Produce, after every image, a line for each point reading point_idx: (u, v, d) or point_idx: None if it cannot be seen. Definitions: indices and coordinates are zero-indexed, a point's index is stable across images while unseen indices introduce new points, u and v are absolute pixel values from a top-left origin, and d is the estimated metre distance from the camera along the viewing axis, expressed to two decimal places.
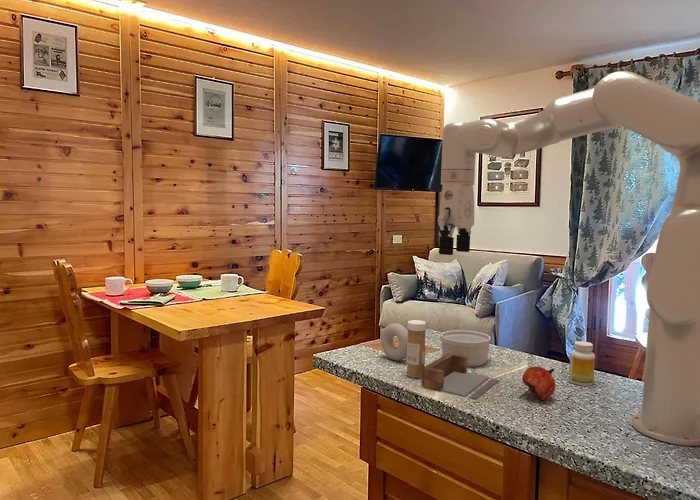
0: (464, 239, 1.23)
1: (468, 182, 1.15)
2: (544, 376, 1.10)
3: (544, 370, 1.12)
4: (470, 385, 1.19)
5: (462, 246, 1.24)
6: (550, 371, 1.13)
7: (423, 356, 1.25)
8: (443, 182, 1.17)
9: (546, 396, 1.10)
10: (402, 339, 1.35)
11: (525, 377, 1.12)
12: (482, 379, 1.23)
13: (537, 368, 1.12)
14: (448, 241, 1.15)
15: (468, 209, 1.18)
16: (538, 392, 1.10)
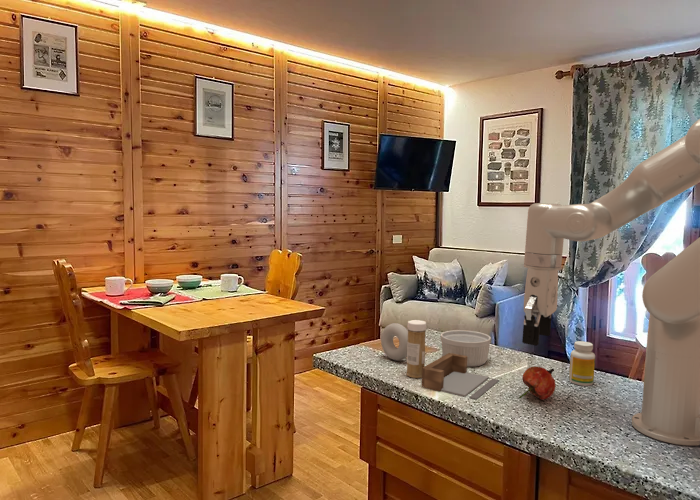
0: (545, 322, 1.16)
1: (556, 268, 1.08)
2: (544, 376, 1.10)
3: (544, 370, 1.12)
4: (470, 385, 1.19)
5: (542, 329, 1.16)
6: (550, 371, 1.13)
7: (423, 356, 1.25)
8: (528, 266, 1.10)
9: (546, 396, 1.10)
10: (402, 339, 1.35)
11: (525, 377, 1.12)
12: (482, 379, 1.23)
13: (537, 368, 1.12)
14: (534, 331, 1.07)
15: (554, 295, 1.10)
16: (538, 392, 1.10)
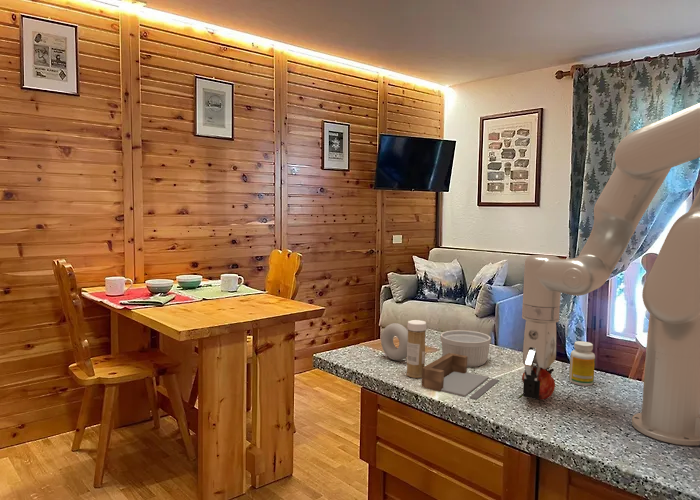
0: None
1: (554, 320, 1.09)
2: (544, 376, 1.10)
3: (544, 370, 1.12)
4: (470, 385, 1.19)
5: None
6: (550, 371, 1.13)
7: (423, 356, 1.25)
8: (526, 318, 1.10)
9: (546, 396, 1.10)
10: (402, 339, 1.35)
11: None
12: (482, 379, 1.23)
13: None
14: (534, 385, 1.09)
15: (552, 346, 1.11)
16: None
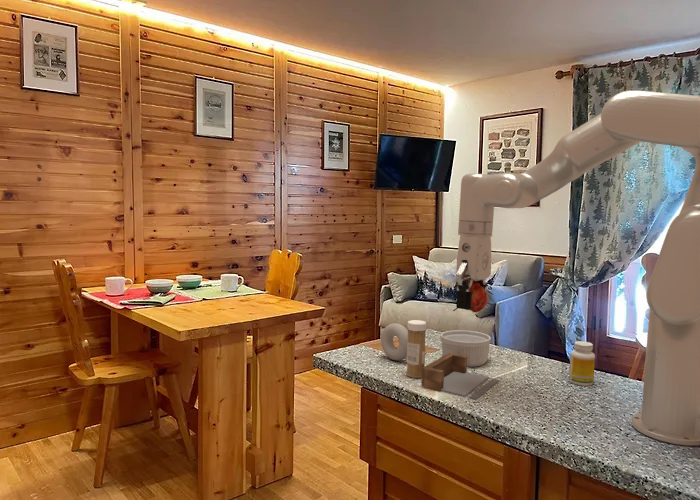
0: None
1: (486, 234, 1.14)
2: (476, 288, 1.16)
3: (477, 284, 1.17)
4: (470, 385, 1.19)
5: None
6: (484, 286, 1.19)
7: (423, 356, 1.25)
8: (461, 233, 1.16)
9: (478, 307, 1.16)
10: (402, 339, 1.35)
11: None
12: (482, 379, 1.23)
13: None
14: (466, 296, 1.14)
15: (485, 261, 1.16)
16: None
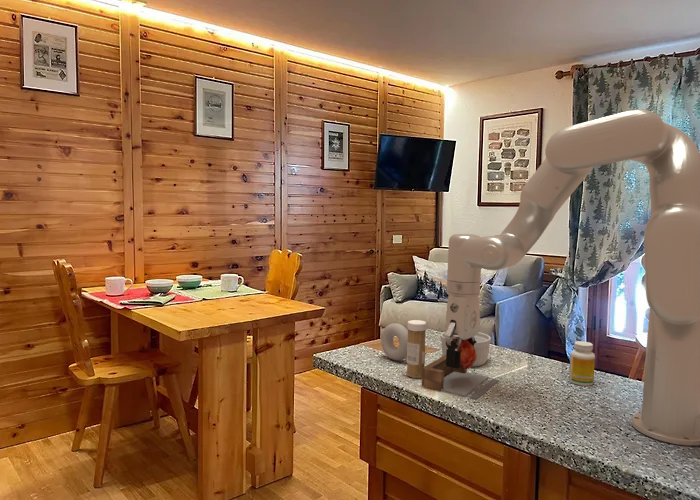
0: None
1: (474, 294, 1.16)
2: (465, 347, 1.18)
3: (466, 341, 1.19)
4: (470, 385, 1.19)
5: None
6: (472, 343, 1.21)
7: (423, 356, 1.25)
8: (449, 293, 1.18)
9: (467, 365, 1.18)
10: (402, 339, 1.35)
11: None
12: (482, 379, 1.23)
13: None
14: (455, 355, 1.16)
15: (474, 319, 1.18)
16: None
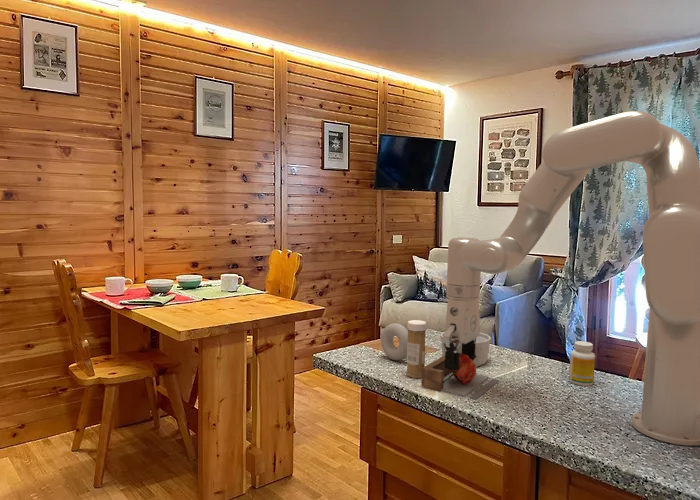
0: (469, 347, 1.24)
1: (473, 298, 1.16)
2: (464, 362, 1.18)
3: (465, 356, 1.19)
4: (470, 385, 1.19)
5: (467, 354, 1.24)
6: (472, 357, 1.21)
7: (423, 356, 1.25)
8: (449, 296, 1.18)
9: (466, 380, 1.18)
10: (402, 339, 1.35)
11: None
12: (482, 379, 1.23)
13: (459, 354, 1.20)
14: (454, 357, 1.16)
15: (473, 322, 1.19)
16: (458, 377, 1.18)
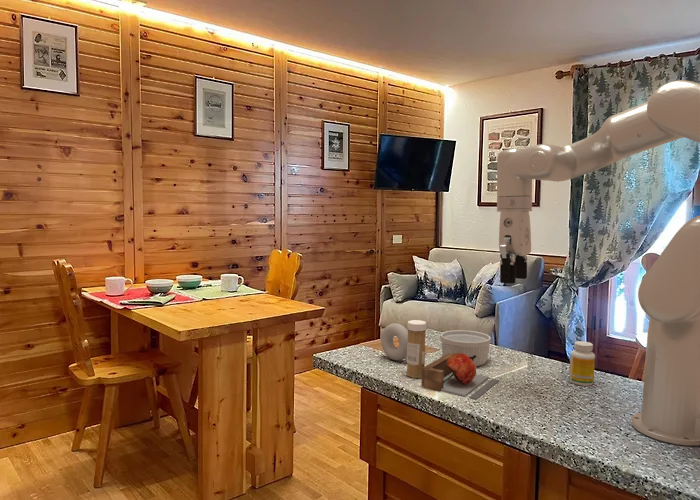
0: (521, 266, 1.21)
1: (527, 209, 1.14)
2: (464, 362, 1.18)
3: (465, 356, 1.19)
4: (470, 385, 1.19)
5: (519, 273, 1.21)
6: (472, 357, 1.21)
7: (423, 356, 1.25)
8: (501, 209, 1.15)
9: (466, 380, 1.18)
10: (402, 339, 1.35)
11: (447, 363, 1.19)
12: (482, 379, 1.23)
13: (459, 354, 1.20)
14: (510, 269, 1.12)
15: (527, 236, 1.16)
16: (458, 377, 1.18)
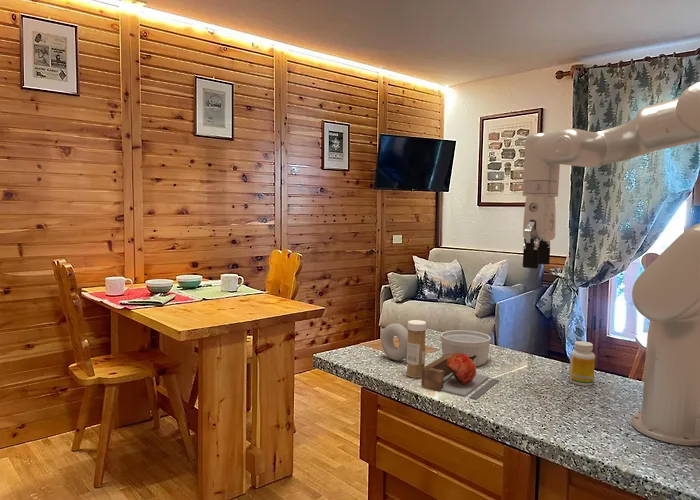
0: (544, 251, 1.21)
1: (553, 194, 1.13)
2: (464, 362, 1.18)
3: (465, 356, 1.19)
4: (470, 385, 1.19)
5: (542, 258, 1.21)
6: (472, 357, 1.21)
7: (423, 356, 1.25)
8: (526, 194, 1.15)
9: (466, 380, 1.18)
10: (402, 339, 1.35)
11: (447, 363, 1.19)
12: (482, 379, 1.23)
13: (459, 354, 1.20)
14: (533, 254, 1.12)
15: (552, 221, 1.15)
16: (458, 377, 1.18)
